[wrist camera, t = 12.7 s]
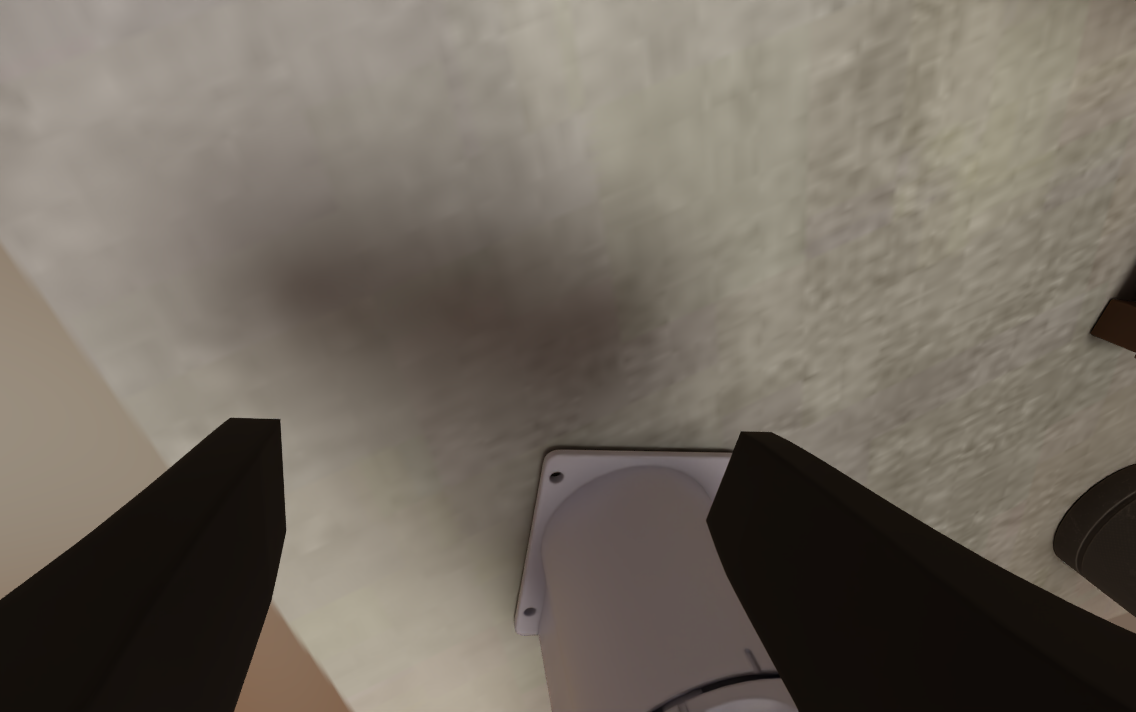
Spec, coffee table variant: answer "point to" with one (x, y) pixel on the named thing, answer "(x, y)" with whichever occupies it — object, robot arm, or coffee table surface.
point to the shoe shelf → (1118, 324)
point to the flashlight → (1104, 537)
